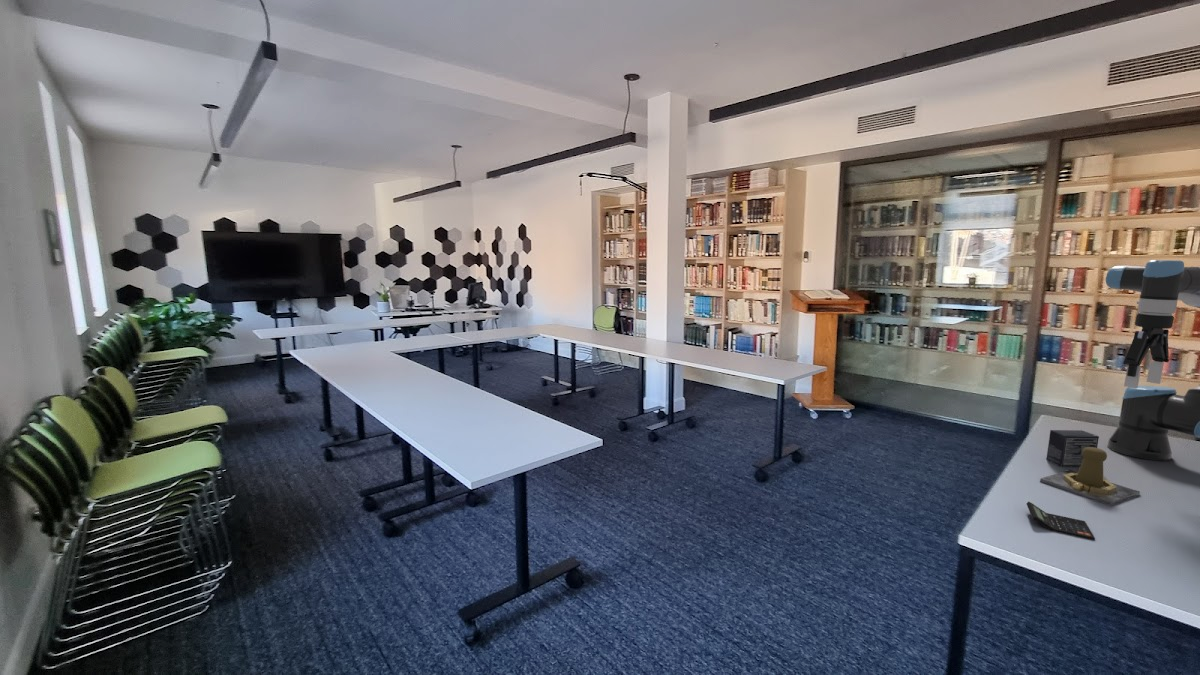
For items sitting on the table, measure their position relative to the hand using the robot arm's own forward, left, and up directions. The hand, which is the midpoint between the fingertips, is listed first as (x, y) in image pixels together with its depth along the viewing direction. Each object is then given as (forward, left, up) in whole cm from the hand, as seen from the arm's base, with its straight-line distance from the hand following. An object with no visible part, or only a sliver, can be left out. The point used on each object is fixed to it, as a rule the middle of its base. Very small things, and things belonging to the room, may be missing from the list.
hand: (1142, 385), depth 152 cm
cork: (+21, 0, -28) cm, 35 cm away
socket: (+21, 0, -29) cm, 35 cm away
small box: (+4, -12, -29) cm, 32 cm away
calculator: (+54, +8, -29) cm, 62 cm away
